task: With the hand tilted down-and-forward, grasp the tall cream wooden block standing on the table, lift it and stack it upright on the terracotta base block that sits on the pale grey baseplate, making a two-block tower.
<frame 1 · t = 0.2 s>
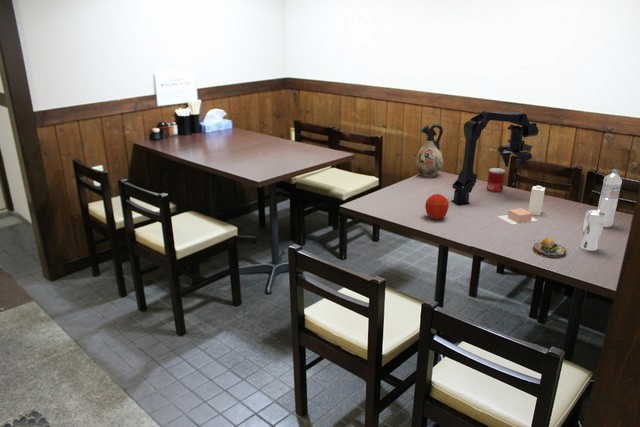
hand: (512, 169, 255), 14 cm above the table, tool pointing down, fingers open, 9 cm apart
canned food: (494, 190, 269), on the table
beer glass: (588, 248, 203), on the table
water bottle: (603, 225, 225), on the table
base block: (519, 219, 228), point 1 cm above the table, touching baseplate
burger: (548, 252, 200), on the table
apple: (436, 218, 233), on the table
tall block: (534, 215, 236), on the table
ceramic jug: (429, 175, 294), on the table
baseplate: (517, 220, 229), on the table
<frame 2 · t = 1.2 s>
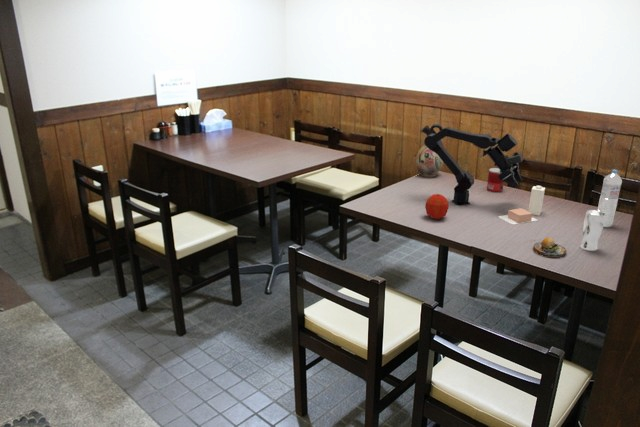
hand: (519, 184, 235), 13 cm above the table, tool tilted 45°, fingers open, 9 cm apart
nothing on the table moved.
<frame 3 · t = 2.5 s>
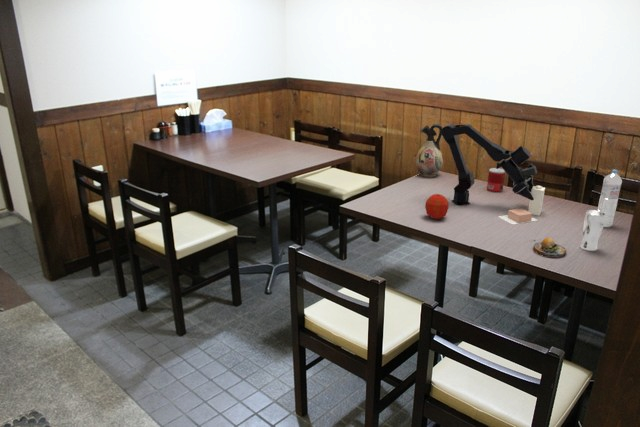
hand: (534, 196, 233), 9 cm above the table, tool tilted 45°, fingers open, 9 cm apart
nothing on the table moved.
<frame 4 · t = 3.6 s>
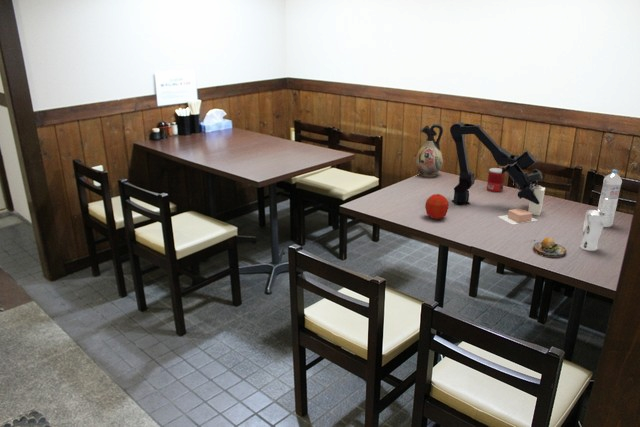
hand: (539, 202, 233), 7 cm above the table, tool tilted 45°, fingers closed on tall block, 5 cm apart
tall block: (534, 215, 236), on the table, touching gripper
everything else where it was.
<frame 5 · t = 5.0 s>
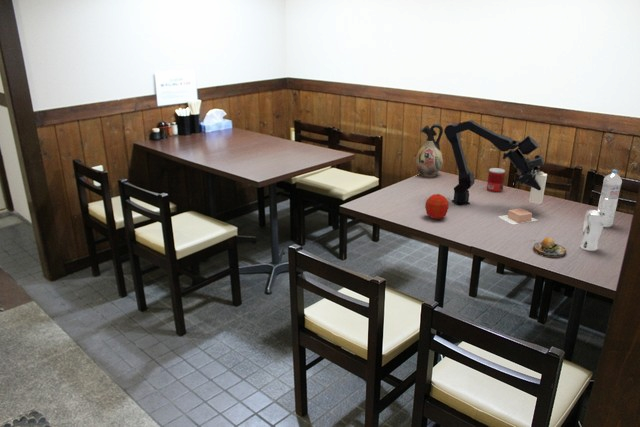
hand: (541, 188, 230), 13 cm above the table, tool tilted 45°, fingers closed on tall block, 5 cm apart
tall block: (535, 201, 233), point 7 cm above the table, touching gripper
everything else where it was.
when the fingers open (12 cm above the table, at t = 6.6 s): tall block drops 1 cm, resting on base block.
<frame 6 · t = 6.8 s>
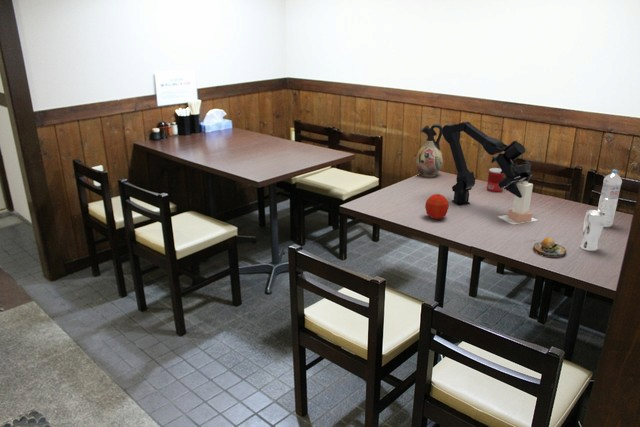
hand: (525, 195, 223), 13 cm above the table, tool tilted 45°, fingers open, 7 cm apart
base block: (519, 219, 228), point 1 cm above the table, touching baseplate, tall block
tall block: (520, 211, 227), point 5 cm above the table, touching base block
everything else where it was.
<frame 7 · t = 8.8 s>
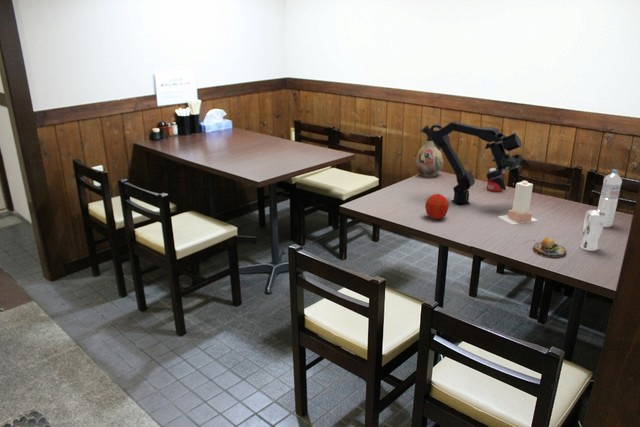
hand: (511, 186, 234), 13 cm above the table, tool tilted 30°, fingers open, 9 cm apart
nothing on the table moved.
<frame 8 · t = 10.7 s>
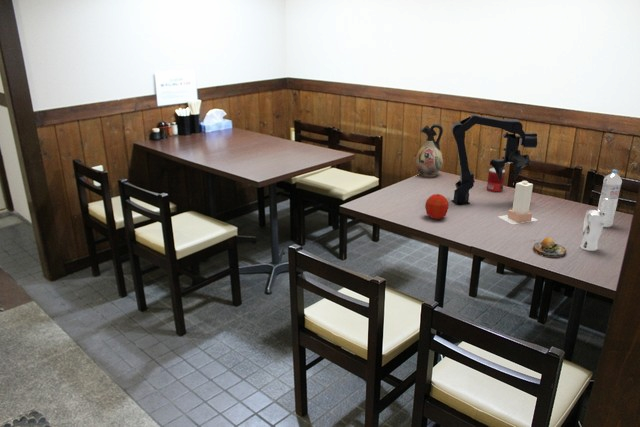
hand: (507, 179, 244), 13 cm above the table, tool pointing down, fingers open, 9 cm apart
nothing on the table moved.
at the end: tall block 0.0 cm off-centre on the base block, point 3.5 cm above the base block's base; tall block tilted 0°; the gripper is holding nothing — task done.
